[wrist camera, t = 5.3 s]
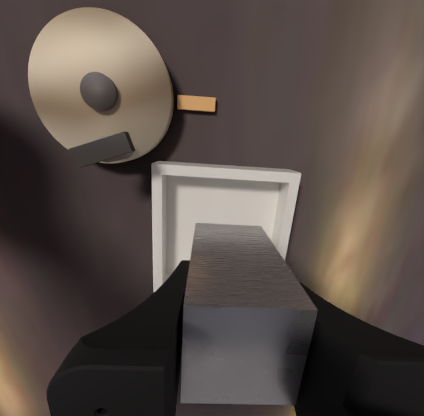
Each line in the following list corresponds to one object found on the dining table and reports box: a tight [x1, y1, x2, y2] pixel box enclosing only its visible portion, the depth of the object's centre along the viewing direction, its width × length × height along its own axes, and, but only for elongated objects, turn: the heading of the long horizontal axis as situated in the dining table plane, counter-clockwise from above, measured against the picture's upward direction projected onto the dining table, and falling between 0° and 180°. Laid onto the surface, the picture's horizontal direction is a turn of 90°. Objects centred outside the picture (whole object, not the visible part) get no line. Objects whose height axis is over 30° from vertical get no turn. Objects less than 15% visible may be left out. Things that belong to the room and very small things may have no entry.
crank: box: [28, 7, 174, 168], centre depth 14 cm, size 10×10×5 cm
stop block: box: [181, 223, 318, 405], centre depth 10 cm, size 4×4×7 cm
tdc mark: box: [177, 95, 216, 112], centre depth 17 cm, size 3×1×1 cm, turn 86°
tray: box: [151, 161, 301, 292], centre depth 19 cm, size 12×12×2 cm
